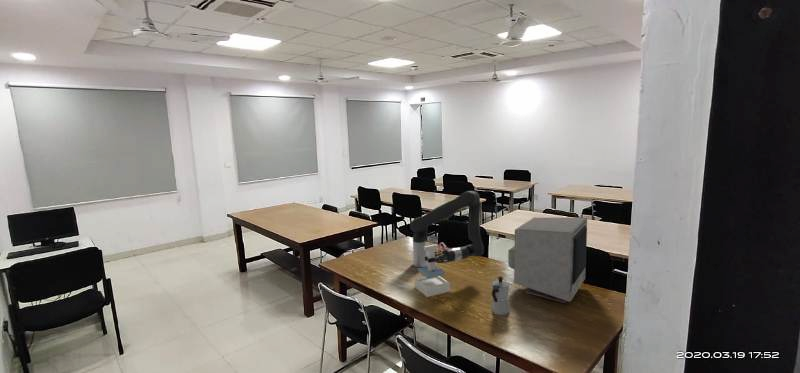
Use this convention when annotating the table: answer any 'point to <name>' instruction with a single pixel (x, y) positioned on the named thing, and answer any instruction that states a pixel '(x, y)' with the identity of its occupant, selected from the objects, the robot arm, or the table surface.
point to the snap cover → (431, 264)
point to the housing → (432, 285)
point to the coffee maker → (500, 297)
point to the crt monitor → (550, 257)
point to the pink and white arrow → (444, 246)
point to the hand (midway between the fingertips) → (426, 259)
